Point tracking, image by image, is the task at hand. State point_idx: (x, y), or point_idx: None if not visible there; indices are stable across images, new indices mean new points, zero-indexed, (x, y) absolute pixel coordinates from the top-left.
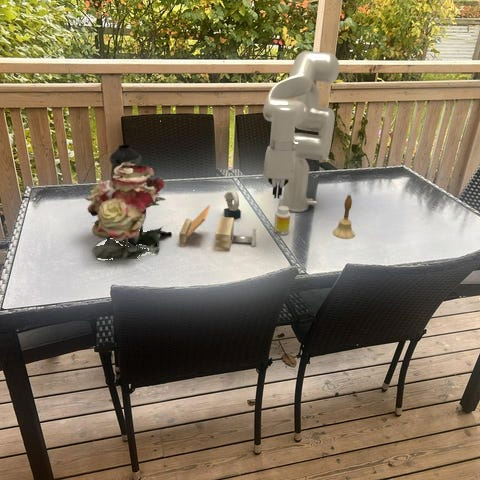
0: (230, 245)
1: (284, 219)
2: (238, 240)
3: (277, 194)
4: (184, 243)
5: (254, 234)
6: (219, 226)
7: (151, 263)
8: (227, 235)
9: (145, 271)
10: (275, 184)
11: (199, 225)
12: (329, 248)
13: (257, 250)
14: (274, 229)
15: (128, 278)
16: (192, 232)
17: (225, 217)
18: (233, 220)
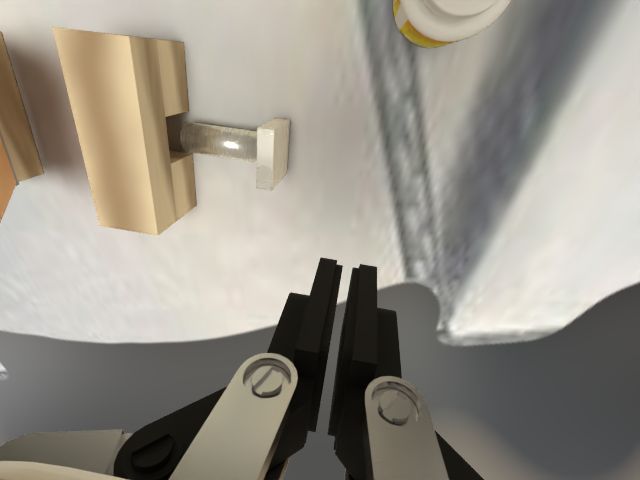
0: (192, 164)
1: (453, 41)
2: (213, 155)
3: (348, 294)
4: (30, 176)
5: (266, 186)
6: (91, 155)
7: (9, 267)
8: (150, 232)
9: (18, 299)
10: (276, 478)
11: (4, 209)
12: (634, 177)
13: (297, 197)
14: (393, 8)
15: (2, 322)
16: (12, 191)
17: (81, 34)
18: (136, 63)
